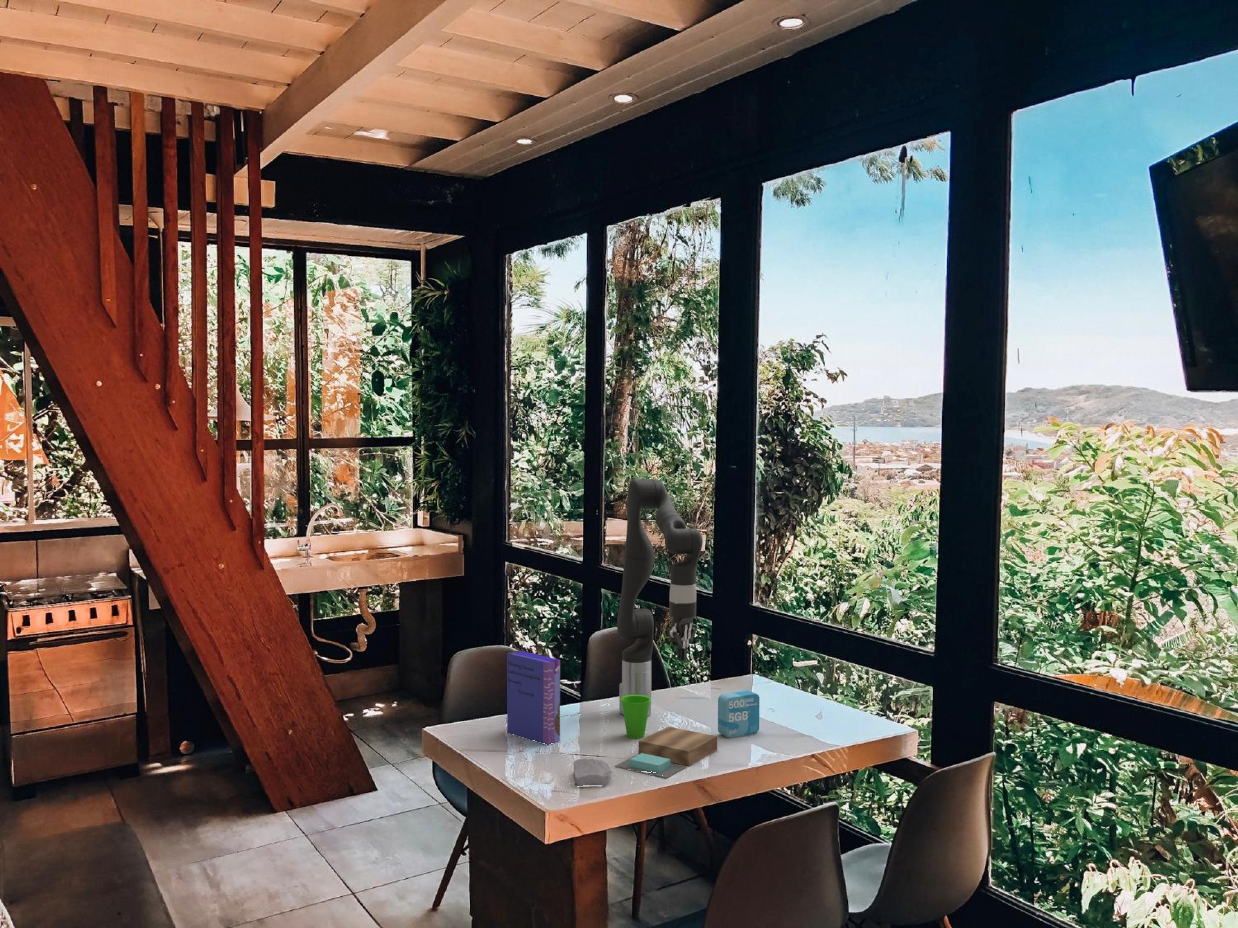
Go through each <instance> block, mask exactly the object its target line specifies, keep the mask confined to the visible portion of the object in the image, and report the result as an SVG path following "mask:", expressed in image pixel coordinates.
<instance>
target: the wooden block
mask: <svg viewBox="0 0 1238 928" xmlns="http://www.w3.org/2000/svg"><path fill="white" fill-rule="evenodd" d="M637 743H638V746H637V747H638V753H637V754H638V755H639V754H641V753H644V754H649V755H653V756H658V757H663V758H667V759H671V763H672V762H673V763H672V764H676V763H679V764H678V765H680V766H685V767H690V766H692V765H694V764H695V763H697V762H699V761H701V760H702V759H705V758H706V757H708V756H710V755H711V754H713V753H715V752H717V751H718V736H717V735H714V734H710V733H704V732H698V731H695V730H694V731H693V730H687V729H684V728H677V727H673V726H666V727H665V728H662V729H660V730H658V731H656V732H654V733H652V734H650V735H648V736H646V737H645V736H644V737H642V739H641V738H640V739H639V740H638V742H637ZM693 763H694V764H693Z"/></svg>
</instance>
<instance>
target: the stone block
mask: <svg viewBox="0 0 1238 928" xmlns="http://www.w3.org/2000/svg"><path fill="white" fill-rule="evenodd" d="M612 774H613V770H612V769H611V766H609V764H608V763H607V762H606V761H604V760H599V759H594V758H587V757H586V758H580V759H576V760H575V761H573V776H574V786H575V785H577V786H583V785H604V786H605V785H607V783H608V781H609V780H610V779H611V776H612ZM577 786H576V787H577Z"/></svg>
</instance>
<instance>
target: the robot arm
mask: <svg viewBox="0 0 1238 928" xmlns="http://www.w3.org/2000/svg"><path fill="white" fill-rule="evenodd" d="M627 487H628V488H627V496H626V497H627V500H626V501H627V502H626V504H627V505H626V508H627V509H626V510H627V512H626V514H627V515H626V516H627V517H626V519H627V520H626V536H625V544H624V545H625V547H624V552H623V553H624V557H623V568H622V569H623V571H622V585H621V594H620V598H619V599H620V600H619V606H618V612H617V618H616V619H617V620H616V628H617V629H616V630H617V635H618V636H619V638H620V639H622V640H635V642H634V643H633V644H631V645H630V646H628V647H627V648H624V650H622V654H621V655H622V656H621V657H622V658H621V660H622V661H621V663H622V664H621V665H622V666H621V679H622V680H621V682H620V683H619V684H618V685H619V687H618V688H619V691H618V692H619V695H618V696H619V697H618V698H619V700H618V701H619V703H618V704H619V705H618V706H619V707H618V708H619V710H618V713H619V714H622V715H623V716H624V713H623V706H622V701H621V700H620V699H621V697H623V696H627V695H644V696H648V697H650V698H651V699H652V655H653V652H654V651H653V650H654V632H655V631H654V630H655V622H654V616H653V613H652V612H651V610H650V609H649V608H635V604H636V601H637V598H638V596H639V594H640V592H641V591H642V589H643V588H644V587H645V585H646V584H647V582H648V580H649V579H650V577H651V576H652V574H653V570H654V559H655V550H654V545H653V544H652V542H651V540H650V538H649V536H648V535H647V533H646V531H645V529H644V527H643V523H642V521H641V510H654V509H656V513H655V519H654V520H655V525H656V526H657V527H658V529H659V530H660V532H661V533H662V535H663V539H664V546H665V549H666V551H667V552H669V553H670V554H673V555H685V557H684V558H683V559H682V560H680V561H676V562H673V563H672V564H671V565H670V585H669V586H670V587H669V601H668V602H669V603H668V604H669V607H668V609H669V611H668V614H669V617H672V625H671V626H672V628H671V630H667V636H668V638H669V641H670V643H671V644H672V647H676V648H677V657H676V658H677V661H679V662H686V661H687V659H688V647H689V645H691V644H692V643H693V640H694V637H695V634H696V631H697V628H698V625H697V624H694V623H693V622H694V621H693V618H695V617H696V616H697V587H696V584H697V583H696V581H697V580H696V578H697V577H696V576H697V573H696V572H697V566H698V562H699V558H700V555H701V551H702V548H703V543H704V542H703V541H704V540H703V535H702V533H701V531H700V530H699V529H697V528H694V527H693V528H687V526H686V523H685V521H684V519H683V518H682V517H681V516H680V514H679V513H678V512H677V511H676V509H675V506H674V505H673V503H672V500H671V497H670V495H669V493H668V491H667V488H666V485H664V483H663V482H662V480H659V479H655V478H634V479H631V480H630V482H629V484H628V486H627ZM650 715H652V700H651V701H650V704H649V710H648V716H650Z"/></svg>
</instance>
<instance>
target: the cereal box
mask: <svg viewBox="0 0 1238 928" xmlns="http://www.w3.org/2000/svg"><path fill="white" fill-rule="evenodd" d="M506 684H507V685H506V687H507V688H506V698H507V699H506V712H507V713H506V720H507V721H506V724H507V725H506V733H507V734H509V733H510V735H512V734H514V735H513V736H516V737H519V736H520V737H519V738H522V737H524V738H523V739H525V738H526V739H525V740H528V739H530V740H529V741H532V740H535V741H537V742H536V743H538V742H541V743H545V744H547V745H546V746H550V745H549V744H551V743H555V742H558V741H560V742H561V659H558V658H554V657H550V656H545V655H540V654H536V653H532V652H528V651H522V650H514V651H513V650H512V651H510V652H507V653H506ZM535 741H534V742H535ZM541 743H540V744H541ZM558 743H559V742H558ZM555 744H556V743H555ZM551 745H552V744H551Z"/></svg>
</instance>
